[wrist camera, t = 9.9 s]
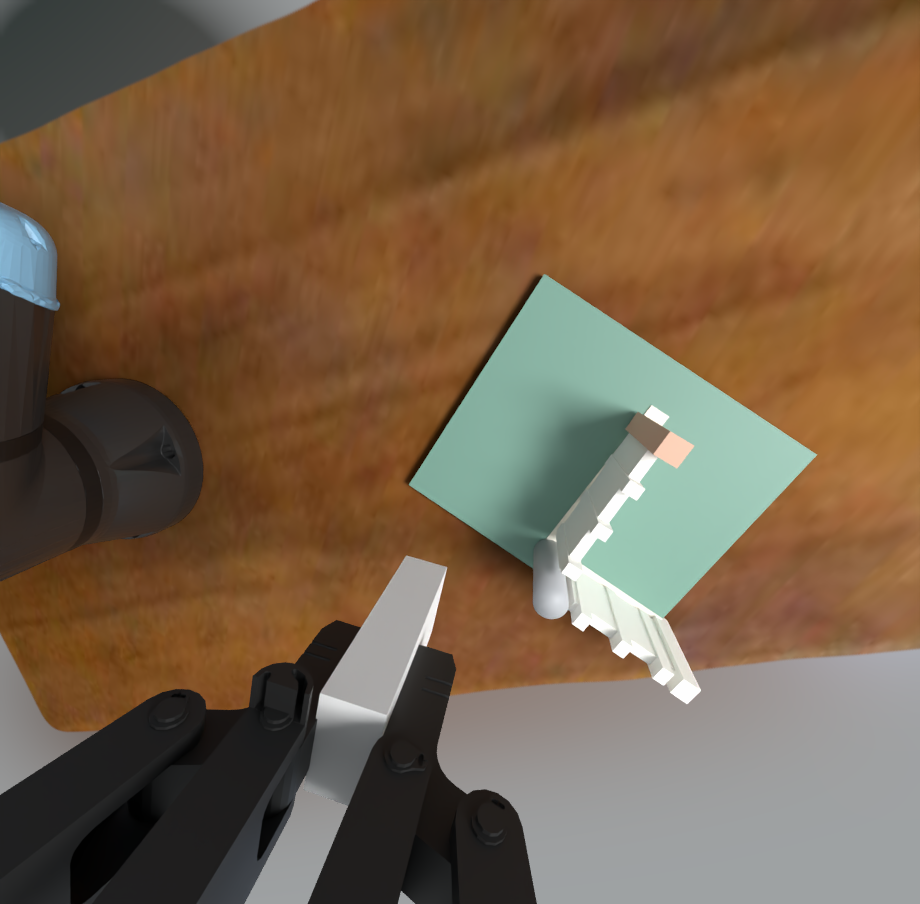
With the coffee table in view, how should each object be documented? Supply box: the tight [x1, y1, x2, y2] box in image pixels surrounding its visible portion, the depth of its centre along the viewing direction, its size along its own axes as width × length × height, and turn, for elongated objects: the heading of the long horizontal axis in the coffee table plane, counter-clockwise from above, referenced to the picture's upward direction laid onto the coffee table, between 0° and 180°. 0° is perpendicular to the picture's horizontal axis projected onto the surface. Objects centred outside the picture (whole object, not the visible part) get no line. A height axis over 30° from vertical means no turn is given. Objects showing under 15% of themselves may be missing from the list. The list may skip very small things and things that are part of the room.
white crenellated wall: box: [556, 412, 694, 582], centre depth 31 cm, size 12×2×8 cm, turn 150°
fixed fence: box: [533, 539, 701, 704], centre depth 34 cm, size 13×2×8 cm, turn 57°
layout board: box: [409, 274, 817, 620], centre depth 36 cm, size 24×20×1 cm
